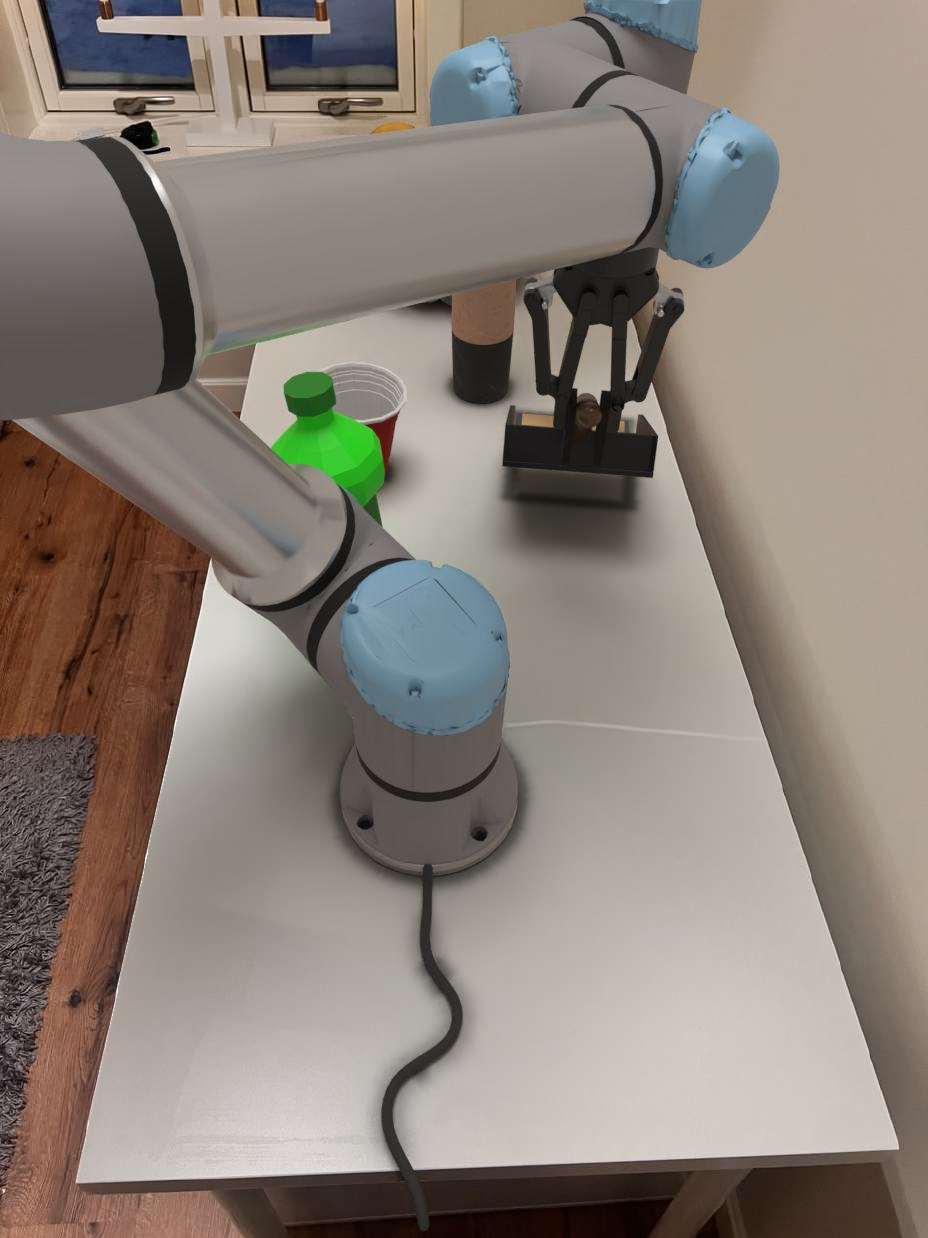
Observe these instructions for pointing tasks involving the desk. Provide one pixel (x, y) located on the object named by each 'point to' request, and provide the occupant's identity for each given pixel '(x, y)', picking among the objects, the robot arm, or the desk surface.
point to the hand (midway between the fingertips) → (581, 455)
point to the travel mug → (483, 341)
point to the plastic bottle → (331, 440)
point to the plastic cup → (369, 398)
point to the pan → (581, 445)
